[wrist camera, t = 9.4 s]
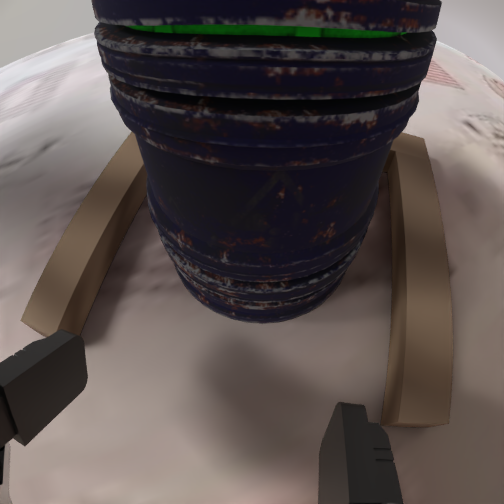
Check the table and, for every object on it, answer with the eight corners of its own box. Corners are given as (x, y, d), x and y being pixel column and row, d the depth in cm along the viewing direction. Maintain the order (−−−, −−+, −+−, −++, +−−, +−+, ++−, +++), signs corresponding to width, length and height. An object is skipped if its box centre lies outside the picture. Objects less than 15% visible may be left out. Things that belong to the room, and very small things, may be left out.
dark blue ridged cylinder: (307, 161, 21) (333, -66, 8) (382, 288, 16) (528, -5, 3) (158, 197, 19) (96, -50, 7) (193, 351, 14) (18, -45, 2)
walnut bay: (426, 427, 12) (448, 423, 10) (41, 334, 14) (20, 320, 13) (415, 158, 21) (423, 138, 20) (162, 119, 24) (158, 98, 22)
